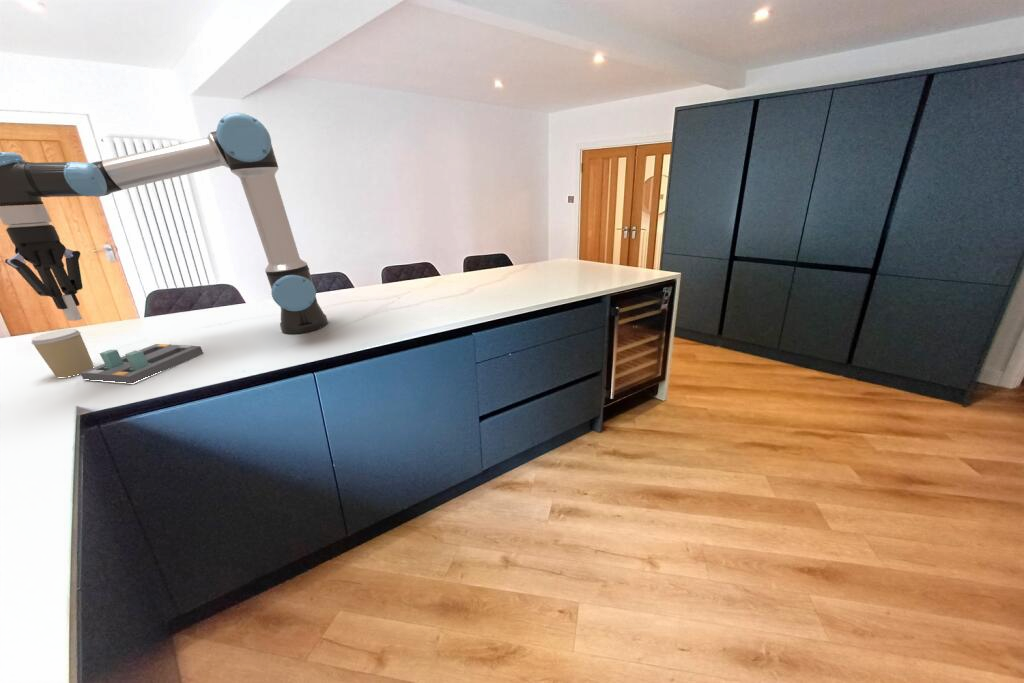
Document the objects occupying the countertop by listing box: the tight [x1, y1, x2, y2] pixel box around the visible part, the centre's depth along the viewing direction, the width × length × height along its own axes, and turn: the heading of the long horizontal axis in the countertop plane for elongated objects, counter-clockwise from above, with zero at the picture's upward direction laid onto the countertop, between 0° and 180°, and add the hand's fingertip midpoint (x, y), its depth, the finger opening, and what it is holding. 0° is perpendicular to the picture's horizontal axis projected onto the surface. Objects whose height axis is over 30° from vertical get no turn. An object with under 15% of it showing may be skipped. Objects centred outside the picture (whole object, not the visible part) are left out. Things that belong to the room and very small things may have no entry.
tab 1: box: [99, 349, 127, 371], centre depth 109 cm, size 3×4×5 cm
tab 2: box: [124, 350, 152, 373], centre depth 108 cm, size 3×4×5 cm
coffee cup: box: [31, 328, 95, 378], centre depth 111 cm, size 9×9×12 cm
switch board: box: [80, 343, 204, 383], centre depth 113 cm, size 18×20×3 cm
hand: (75, 319), depth 100 cm, fingers closed
